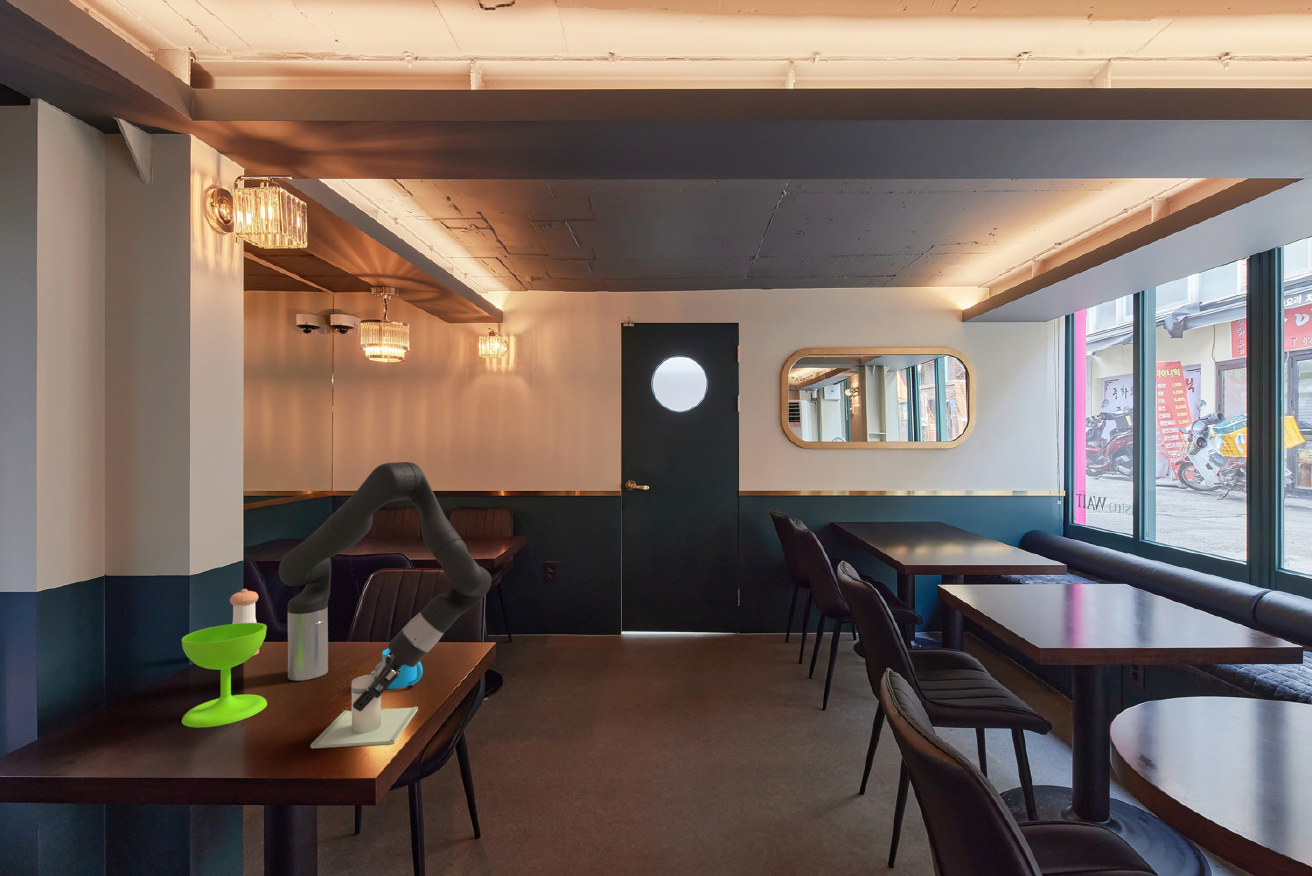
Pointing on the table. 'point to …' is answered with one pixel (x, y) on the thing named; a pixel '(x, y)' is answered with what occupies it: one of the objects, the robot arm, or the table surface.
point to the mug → (405, 674)
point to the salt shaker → (244, 607)
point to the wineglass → (224, 671)
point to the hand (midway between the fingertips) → (358, 700)
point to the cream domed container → (371, 713)
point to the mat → (385, 734)
